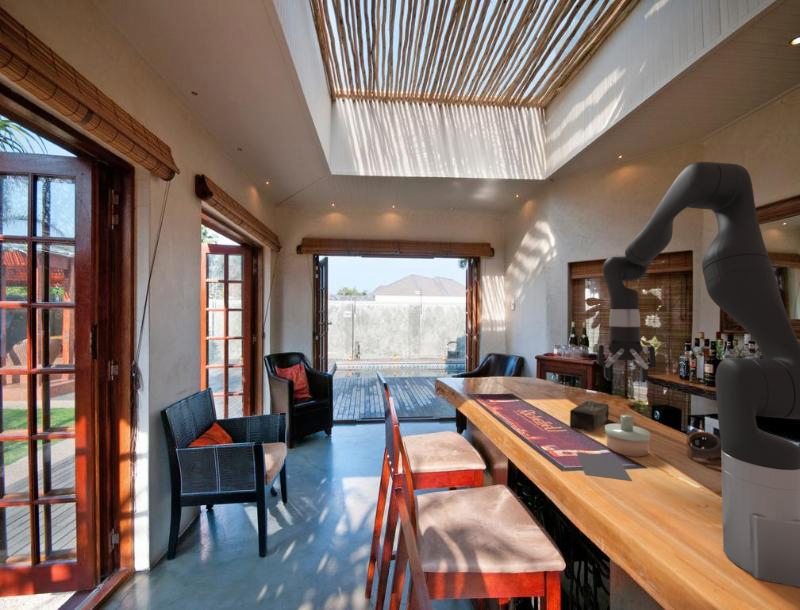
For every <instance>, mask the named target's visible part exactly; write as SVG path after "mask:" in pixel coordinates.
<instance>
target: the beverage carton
mask: <svg viewBox="0 0 800 610" xmlns="http://www.w3.org/2000/svg"><path fill="white" fill-rule="evenodd" d="M609 413H610V411H609V404H606V403H603V402H595V400H587V401H584V402H582V403H580V404H579V405H577V406H575V407H574V408H572V409H570V410H569V426H570V428H574V429H578V430H582V431H585V432H589V433H594V432H595V431H596V430H597V429H599V428H600V427H601V426H602V425H604V424H605V423H606V422H607V421H608V420H609Z"/></svg>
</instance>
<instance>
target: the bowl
mask: <svg viewBox="0 0 800 610" xmlns="http://www.w3.org/2000/svg"><path fill="white" fill-rule="evenodd" d="M606 446H607V448H608V449H609V450H611V451H612V452H615V453H616V454H620V455H622V456H627V457H628V456H629V457H639V458H640V457H643V456H647V455H648V454H649V440H648V441H642V442H638V441H628V440H623V439H619V438H615V437H613V436H610V435H608V434H607V433H606Z"/></svg>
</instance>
